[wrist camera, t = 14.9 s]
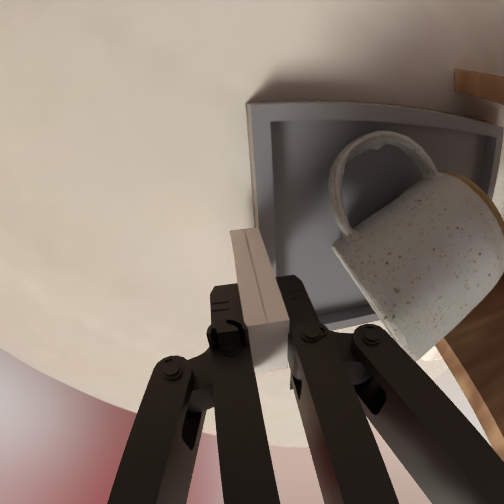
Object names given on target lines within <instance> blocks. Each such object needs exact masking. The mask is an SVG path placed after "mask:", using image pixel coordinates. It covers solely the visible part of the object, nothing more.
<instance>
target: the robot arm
mask: <svg viewBox="0 0 504 504" xmlns="http://www.w3.org/2000/svg"><path fill="white" fill-rule="evenodd" d="M230 236H231V244H232V253H233V261H234V269H235V277H236V284H228V285H221V286H214V288H213V290H212V292H211V294H210V304H211V325H210V326H209V327H208V329H207V338H208V342H209V346H210V347H209V348H208V349H207V351H205V352H204V353H203V354H201V355H199V356H197V357H195V358H192V359H189V360H186V359H185V358H184V357H180V356H169V357H166V358H163V359H162V360H161V361H159V362H158V363H157V364H156V366H155V368H154V370H153V372H152V375H151V378H150V380H149V383H148V385H147V388H146V391H145V394H144V396H143V399H142V402H141V404H140V407H139V410H138V413H137V415H136V418H135V421H134V424H133V427H132V430H131V432H130V435H129V438H128V441H127V444H126V447H125V450H124V453H123V456H122V459H121V462H120V465H119V468H118V471H117V474H116V478H115V481H114V484H113V487H112V491H111V493H110V497H109V500H108V503H107V504H186V502H187V497H188V492H189V488H190V483H191V479H192V473H193V469H194V465H195V460H196V456H197V451H198V447H199V442H200V438H201V433H202V429H203V424H204V420H205V415H206V411H207V409H210V408H212V407H214V408H215V421H216V432H217V443H218V453H219V463H220V473H221V481H222V490H223V498H224V504H280V501H279V495H278V491H277V486H276V481H275V476H274V471H273V466H272V461H271V456H270V450H269V445H268V440H267V435H266V430H265V425H264V419H263V414H262V409H261V403H260V398H259V393H258V387H257V382H256V376H255V373H260V372H266V371H272V370H278V369H284V368H288V362H289V366H290V369H291V378H290V390H291V389H294V393H295V397H296V400H297V404H298V408H299V411H300V415H301V419H302V422H303V426H304V430H305V433H306V437H307V441H308V444H309V448H310V452H311V455H312V459H313V462H314V466H315V470H316V473H317V477H318V481H319V485H320V488H321V492H322V496H323V499H324V503H325V504H399V502H398V499H397V497H396V494H395V491H394V488H393V485H392V483H391V480H390V477H389V474H388V472H387V469H386V466H385V464H384V461H383V458H382V456H381V453H380V451H379V448H378V445H377V443H376V440H375V438H374V435H373V433H372V430H371V428H370V425H369V423H368V420H367V418H368V419H369V420H370V422H371V423H372V424H373V426H374V427H375V428H376V430H377V431H378V432H379V434H380V435H381V436H382V438H383V439H384V440H385V442H386V443H387V444H388V446H389V447H390V448H391V449H392V451H393V452H394V454H395V455H396V456H397V458H398V459H399V460H400V462H401V463H402V464H403V466H404V467H405V468H406V470H407V471H408V472H409V474H410V475H411V476H412V477H413V479H414V480H415V481H416V483H417V484H418V485H419V487H420V488H421V489H422V491H423V492H424V493H425V495H426V496H427V497H428V499H429V500H430V501H431V503H432V504H504V462H503V460H502V459H501V458H500V457H499V456H498V454H497V453H496V452H495V451H494V450H493V448H492V447H491V446H490V445H489V444H488V443H487V441H486V440H485V439H484V438H483V437H482V435H481V434H480V433H479V432H478V431H477V430H476V428H475V427H474V426H473V425H472V424H471V423H470V422H469V420H468V419H467V418H466V417H465V416H464V415H463V414H462V412H461V411H460V410H459V409H458V408H457V407H456V406H455V405H454V404H453V402H452V401H451V400H450V399H449V398H448V397H447V396H446V395H445V393H444V392H443V391H442V390H441V389H440V388H439V387H438V386H437V385H436V384H435V382H434V381H433V380H432V379H431V378H430V377H429V376H428V375H427V374H426V373H425V372H424V371H423V370H422V369H421V367H420V366H419V365H418V364H417V363H416V362H415V361H414V360H413V359H412V358H411V357H410V356H409V355H408V354H407V353H406V352H405V351H404V349H403V348H402V347H401V346H400V345H399V344H398V343H397V342H396V341H395V340H394V339H393V338H392V337H391V336H390V335H389V334H388V333H387V332H386V331H385V330H384V329H383V328H381V327H380V326H377V325H374V324H365V325H361V326H359V327H358V328H357V329H355V331H354V333H338V332H333V331H330V330H329V329H328V328H327V327H326V326H325V325H323V324H322V323H321V322H320V321H319V319H318V316H317V314H316V312H315V309H314V307H313V305H312V303H311V300H310V298H309V296H308V293H307V291H306V289H305V287H304V284H303V282H302V281H301V280H300V279H299V278H298V277H297V276H295V275H288V276H281V277H275V275H274V272H273V269H272V266H271V263H270V260H269V257H268V254H267V251H266V248H265V245H264V242H263V240H262V237H261V234H260V231H259V229H258V227H257V228H248V229H240V230H232V231H230ZM366 416H367V418H366Z"/></svg>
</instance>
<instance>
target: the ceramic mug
mask: <svg viewBox="0 0 504 504" xmlns="http://www.w3.org/2000/svg"><path fill="white" fill-rule="evenodd" d="M385 144H391V145H394V146H396V147H399V148H400V149H402V150H403V151H404V152H405V154H407V155H408V156H409V157H410V158H411V159H412V160H413V162H414V163H415V164H416V165H417V167H418V168H419V170H420V171H421V173H422V176H423V177H422V179H420V180H419V181H418V182H416V183H415V184H414V185H413V186H411V187H409V188H408V189H407V190H406V191H404V192H403V193H402V194H401V195H400V196H399V197H398V198H396V199H395V200H394V201H392V202H391V203H389V204H388V205H386V206H385V207H383V208H382V209H380V210H379V211H377V212H376V213H374V214H372V215H371V216H370V217H368V218H367V219H366V220H363V221H362V222H361V223H360V224H359V225H357V226H355V227H354V228H351V226H350V224H349V222H348V219H347V215H346V212H345V208H344V204H343V200H342V192H341V187H342V179H343V175H344V167H345V164H346V162H348V161H349V160H351V159H352V158H354V157H356V156H358V155H359V154H361V153H363V152H365V151H368V150H371V149H377V150H379V149H380V148H381V147H382V146H383V145H385ZM328 192H329V200H330V203H331V207H332V210H333V213H334V216H335V219H336V221H337V224H338V226H339V228H340V230H341V232H342V236H341V237H340V238H338V239H337V240H336V241H335V242H333V244H332V249H333V250H334V252H335V254H336V255H337V256H338V258H339V259H340V261H341V263H342V264H343V266H344V267H345V269H346V270H347V271H348V273H349V274H350V276H351V278H352V279H353V280H354V282H355V283H356V285H357V286H358V287H359V289H360V290H361V292H362V293H363V295H364V296H365V298H366V299H367V301H368V302H369V304H370V305H371V307H372V309H373V310H374V311H375V312H376V314H377V315H378V317H379V319H380V320H381V321H382V323H383V324H384V326H385V327H386V329H387V330H388V332H389V333H390V335H391V336H392V337H393V339H394V340H395V341H396V342H397V343H398V344H399V345H400V346H401V347H402V348H403V349H404V351H405V352H406V353H407V354H408V355H409V356H410V357H411V358H412V359H413V360H414V361H417V360H419V359H420V358H421V357H422V356H423V355H425V354H426V353H427V352H428V351H429V350H430V349H431V348H433V347H434V346H435V345H436V344H437V343H438V342H439V341H440V340H441V339H442V338H443V337H445V336H446V335H447V334H448V333H449V332H450V331H451V330H452V329H453V328H454V327H455V326H456V325H458V324H459V323H460V322H461V321H462V320H463V319H464V318H465V317H466V316H467V315H468V314H469V313H470V312H471V310H472V309H473V308H474V307H476V306H477V305H478V304H479V303H480V302H481V301H482V300H483V299H484V297H485V296H486V295H487V294H488V293H489V292H490V291H491V290H492V289H493V287H494V286H495V285H496V284H497V282H498V281H499V279H500V277H501V276H502V274H503V272H504V221H503V219H502V217H501V215H500V213H499V211H498V209H497V208H496V206H495V205H494V203H493V202H492V201H491V199H490V198H489V197H488V196H487V195H486V193H485V192H484V191H483V190H482V189H481V188H480V187H478V186H477V185H476V184H475V183H474V182H472V181H471V180H469V179H468V178H466V177H464V176H461V175H459V174H456V173H454V172H449V171H441V172H438V171H437V170H436V167H435V164H434V163H433V162H432V160H431V158H430V156H429V155H428V154H427V153H426V152H425V151H424V149H423V148H422V147H421V146H420V145H418V144H417V143H416V142H415V141H413V140H412V139H411V138H409V137H407V136H405V135H402V134H399V133H396V132H392V131H375V132H371V133H369V134H366V135H363V136H361V137H359V138H357V139H356V140H354V141H352V142H351V143H349V144H348V145H347V146H346V147H344V148H343V149H342V150H341V151H340V152H339V154H338V155H337V157H336V158H335V160H334V162H333V164H332V166H331V168H330V174H329V182H328Z"/></svg>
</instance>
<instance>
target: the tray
mask: <svg viewBox="0 0 504 504" xmlns="http://www.w3.org/2000/svg"><path fill="white" fill-rule="evenodd" d="M246 113H247V126H248V140H249V153H250V167H251V181H252V194H253V208H254V222H255V228H257V227H258V229H259V231H260V234H261V237H262V240H263V242H264V245H265V248H266V251H267V254H268V257H269V260H270V263H271V266H272V269H273V272H274V275H275V277H281V276H288V275H295V276H297V277H298V278H299V279H300V280H301V281H302V282H303V284H304V287H305V289H306V291H307V293H308V296H309V298H310V300H311V303H312V305H313V307H314V309H315V312H316V314H317V316H318V319H319V321H320V322H321V323H322V324H323V325H325V326H326V327H327V328H328V329H329V330H330V331H332V330H337V329H342V328H346V327H351V326H356V325H360V324H364V323H369V322H373V321H377V320H380V319H379V317H378V315H377V314H376V312H375V311H374V310H373V309H372V307H371V305H370V304H369V302H368V301H367V299H366V298H365V296H364V295H363V293H362V292H361V290H360V289H359V287H358V286H357V285H356V283H355V282H354V280H353V279H352V278H351V276H350V274H349V273H348V271H347V270H346V269H345V267H344V266H343V264H342V263H341V261H340V259H339V258H338V256H337V255H336V254H335V252H334V250H333V249H332V244H333V242H335V241H336V240H337V239H338V238H340V237H341V236H342V232H341V230H340V228H339V226H338V224H337V221H336V219H335V216H334V213H333V210H332V207H331V203H330V200H329V192H328V182H329V174H330V168H331V166H332V164H333V162H334V160H335V158H336V157H337V155H338V154H339V152H340V151H341V150H342V149H343V148H344V147H346V146H347V145H348V144H349V143H351V142H352V141H354V140H356V139H357V138H359V137H361V136H363V135H366V134H369V133H371V132H375V131H392V132H396V133H399V134H402V135H405V136H407V137H409V138H411V139H412V140H413V141H415V142H416V143H417V144H418V145H420V146H421V147H422V148H423V149H424V151H425V152H426V153H427V154H428V155H429V156H430V158H431V160H432V162H433V163H434V164H435V167H436V170H437V171H438V172H441V171H449V172H454V173H456V174H459V175H461V176H464V177H466V178H468V179H469V180H471V181H472V182H474V183H475V184H476V185H477V186H478V187H480V188H481V189H482V190H483V191H484V192H485V193H486V195H487V196H488V197H489V198H490V199H491V201H492V197H493V193H494V188H495V183H496V178H497V173H498V167H499V161H500V154H501V147H502V139H503V130H504V128H503V127H500V126H497V125H494V124H492V123H489V122H486V121H482V120H478V119H474V118H469V117H465V116H460V115H455V114H450V113H445V112H439V111H433V110H427V109H421V108H414V107H406V106H398V105H389V104H378V103H366V102H349V101H310V100H309V101H269V102H252V103H246ZM422 177H423V176H422V173H421V171H420V170H419V168H418V167H417V165H416V164H415V163H414V162H413V160H412V159H411V158H410V157H409V156H408V155H407V154H405V152H404V151H403V150H402V149H400V148H399V147H396V146H394V145H391V144H385V145H383V146H382V147H381V148H380V149H379V150H377V149H371V150H368V151H365V152H363V153H361V154H359V155H358V156H356V157H354V158H352V159H351V160H349V161H348V162H346V164H345V167H344V175H343V179H342V187H341V192H342V200H343V204H344V208H345V212H346V215H347V219H348V222H349V224H350V226H351V228H354V227H355V226H357V225H359V224H360V223H361V222H362V221H363V220H366V219H367V218H368V217H370V216H371V215H372V214H374V213H376V212H377V211H379V210H380V209H382V208H383V207H385V206H386V205H388V204H389V203H391V202H392V201H394V200H395V199H396V198H398V197H399V196H400V195H401V194H402V193H403V192H404V191H406V190H407V189H408V188H409V187H411V186H413V185H414V184H415V183H416V182H418V181H419V180H420V179H422Z"/></svg>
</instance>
